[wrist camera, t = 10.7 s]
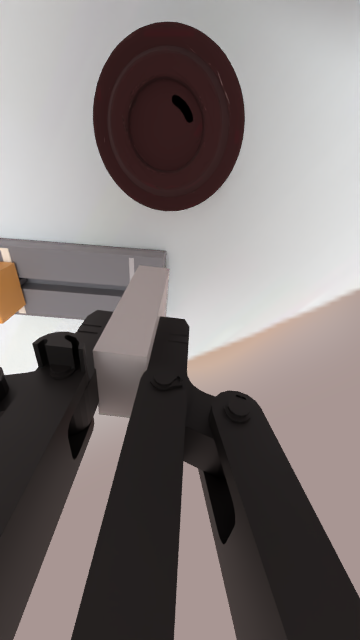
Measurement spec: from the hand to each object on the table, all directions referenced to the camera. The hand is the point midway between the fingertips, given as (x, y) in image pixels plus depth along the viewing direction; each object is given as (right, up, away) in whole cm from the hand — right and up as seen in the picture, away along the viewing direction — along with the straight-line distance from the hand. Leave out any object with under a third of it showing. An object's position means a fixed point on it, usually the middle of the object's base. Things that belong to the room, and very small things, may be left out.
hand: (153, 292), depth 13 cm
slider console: (-13, +5, +24) cm, 28 cm away
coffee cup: (+1, +18, +15) cm, 24 cm away
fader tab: (-21, +4, +23) cm, 32 cm away
